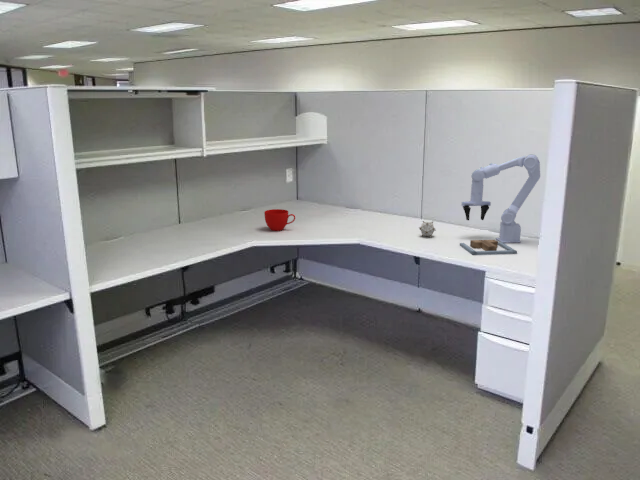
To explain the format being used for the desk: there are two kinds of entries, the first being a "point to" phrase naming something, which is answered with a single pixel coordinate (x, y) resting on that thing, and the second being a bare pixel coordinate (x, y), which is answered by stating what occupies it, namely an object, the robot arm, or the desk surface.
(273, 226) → the ceramic cup
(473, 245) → the walnut T-block
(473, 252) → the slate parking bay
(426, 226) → the grey spiky ball
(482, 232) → the desk surface
